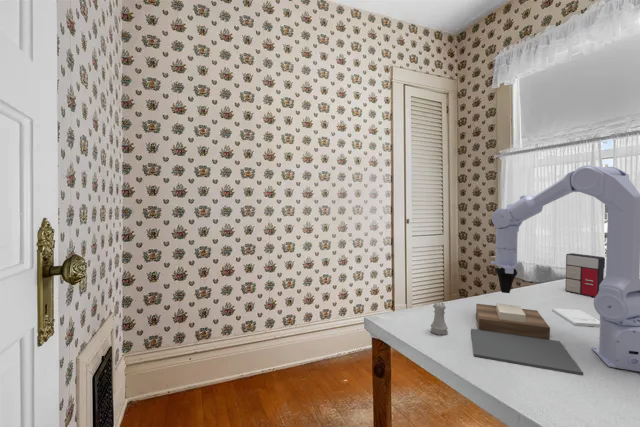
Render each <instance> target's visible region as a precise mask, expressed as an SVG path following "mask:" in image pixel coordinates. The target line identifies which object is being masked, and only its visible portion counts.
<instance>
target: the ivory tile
mask: <svg viewBox="0 0 640 427" xmlns="http://www.w3.org/2000/svg"><path fill="white" fill-rule="evenodd" d="M495 306H496V311H497V314H498V317H499V319H501V320H508V321H516V322H524V323H526V315H525V313H524V312H523V310H522V309H523V308H522V307H521V306H520V305H512V304H505V303H496V304H495Z"/></svg>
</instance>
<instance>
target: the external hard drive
mask: <svg viewBox="0 0 640 427" xmlns="http://www.w3.org/2000/svg"><path fill="white" fill-rule="evenodd" d="M551 312H552V313H554V314H556V315H557V316H558V317H560V318H562V319H564V320H565V321H566V322H568V323H569V324H571V325H573V326H575V327H587V328H588V327H589V328H590V327H591V328H600V319H597V318H596V317H593V316H592V315H590V314H588V313H587V312H584V311H583V310H581V309H568V308H552V309H551Z"/></svg>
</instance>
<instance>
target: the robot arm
mask: <svg viewBox="0 0 640 427" xmlns="http://www.w3.org/2000/svg"><path fill="white" fill-rule="evenodd" d="M571 193H581V194H584V195H588V196H591V197H593V198H596V200H598V201H599V202H601V203H603V204H604V205H605V206H607V227H606V230H607V231H606V233H607V234H606V258H605V267H606V269H605V276H604V279H603V281H602V282H601V284H600V285H599V292H598V294H597V295H596V297H595V298H594V297H593V298H594V299H593V306H594V307H593V308H594V310H595V311H596V313H597V314H598V315H599V321H600V327H599V342H598V343H599V344H598V346H599V347H597V346H591V349H592V351H594V353H595V354H596V355H597V356H598V357H599V358H600V359H601V360H602V362H604V364H605V365H607V367H609V368H615V369H621V370H627V371H634V372H639V373H640V192H639V191H638V189H637V188H636V187H635V185H634V184H633V182H632V181H631V179H630V174H629V173H627V172H626V171H623V170H621V169H619V168H617V167H614V166H597V165H595V166H594V165H592V164H591V165H582V166H580V167H578V168H577V169H575V170H573V171H569V172H568V173H566V174H565V175H564V177H563V178H561V179H559V180H558V181H556V182H555V183H553V184H552V185H549V186H548V187H546V188H545V189H543V190H542V191H540V192H538V193H537V194H536V195H533V194H532V195H531V194H527V195H526V194H525V195H521V196H520V197H519V200H517V201H515V202H513V203H512V204H511V203H509V204H507V205H506V207H505V208H497V209H495V211H494V212H492V215H491V222H492V224H493V225H494V227H495V254H494V256H495V257H494V260H491V261H490V265H495V266H497V267H495V268H494V270H495V272H496V274H497V277H498V282H499V288H500V292H501V293H503V294H510V292H511V290H512V287H513V282H514V280H515V278H516V276H517V275H518V271H517V269H516V268H517V267H518V265H519V263H518V234H519V230H520V227H521V225H522V224H523V222H525V221H526V220H528V219H530V218H533V217H534V216H536V215H538V214H540V213H542V211H543V208H544V206H546V205H548V204H551V203H552V202H555V201H556V200H559V199H561V198H563V197H565V196H567V195H570V194H571Z"/></svg>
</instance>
